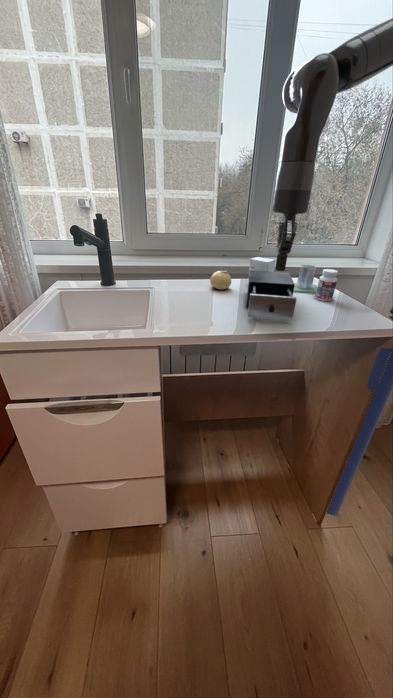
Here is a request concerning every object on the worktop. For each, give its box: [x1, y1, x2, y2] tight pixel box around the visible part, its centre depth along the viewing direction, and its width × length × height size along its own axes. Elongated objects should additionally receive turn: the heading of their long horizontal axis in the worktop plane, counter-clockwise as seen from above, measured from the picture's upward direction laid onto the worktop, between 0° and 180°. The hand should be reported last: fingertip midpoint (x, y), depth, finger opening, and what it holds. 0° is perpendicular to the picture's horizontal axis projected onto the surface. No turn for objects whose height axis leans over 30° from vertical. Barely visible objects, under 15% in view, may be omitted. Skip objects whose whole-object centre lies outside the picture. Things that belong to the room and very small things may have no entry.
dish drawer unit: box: [245, 269, 295, 309], centre depth 95 cm, size 15×14×9 cm
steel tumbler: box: [296, 264, 317, 289], centre depth 109 cm, size 6×6×8 cm
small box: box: [247, 256, 277, 280], centre depth 110 cm, size 8×6×10 cm
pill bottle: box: [314, 268, 339, 302], centre depth 99 cm, size 6×6×10 cm
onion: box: [209, 269, 232, 291], centre depth 108 cm, size 8×8×7 cm
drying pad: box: [293, 282, 317, 294], centre depth 111 cm, size 10×10×1 cm
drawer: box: [247, 284, 298, 322], centre depth 85 cm, size 15×12×7 cm
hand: (279, 270), depth 69 cm, fingers closed
